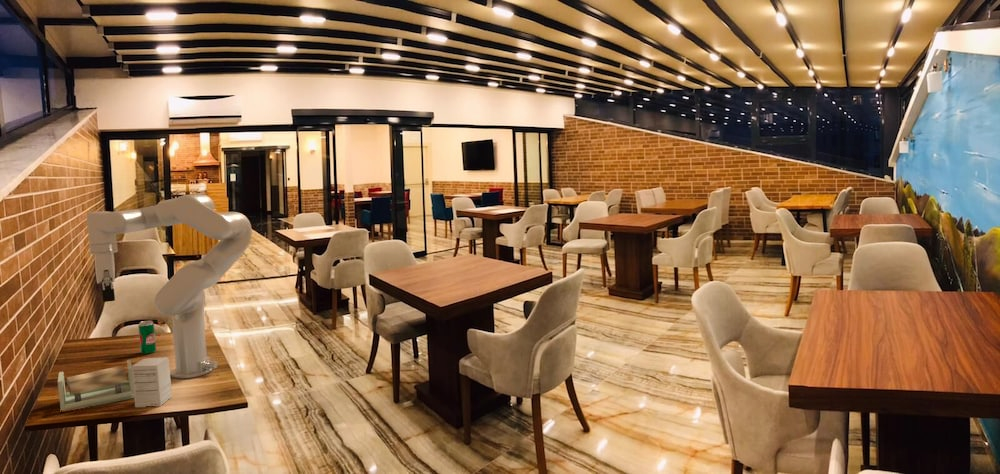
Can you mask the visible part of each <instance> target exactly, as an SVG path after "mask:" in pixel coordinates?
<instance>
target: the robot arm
mask: <svg viewBox="0 0 1000 474" xmlns="http://www.w3.org/2000/svg"><path fill="white" fill-rule="evenodd" d="M86 223H87V232H88V235H87V236H88V243H89V252H90V255H93V256H94V270H95V278H96V283H97V285H99V284H100V283H101V293H102V302H104V303H108V302H114V301H116V296H115V288H114V284H113V283H114V282H115V280H116V278H115V277H116V275H115V274H116V270H115V269H116V268H115V267H116V266H115V253H118V251H119V249H118V242H117V240H118V239H117V235H123V234H128V233H135V232H140V231H145V230H146V231H147V230H150V229H155V228H160V227H170V226H174V225H175V226H176V225H180V224H185V225H187V226H188V227H190V228H192V230H193V229H194V230H195V231H197V232H199V233H200V234H202V235H203V236H205V237H207V238H210V239H212V240H216V241H218V242H216V244H214V245H213V247H211V248H210V249H209V251H208V252H207V253H206V254H205V255H204V256H203V257H202V258H200V259H198V260H197V261H193V262H190V263H188V264H185V265H183V266H181V268H179V269H178V270H177V271H176V272H175V273H174V274H173V275H172V277H171V278H169V280H168V281H167V282H166V283H165V284H164V285H163V286H162V287H161V288H160V289H159V291H158V292H157V293H156V295H155V297H154V298H155V299H154V305H155V309H156V311H157V312H158V313H159V314H161V315H163V316H168V317H172V322H171V323H172V324H171V325H172V336H173V337H172V338H173V346H174V347H173V349H174V360H175V368H174V369H173V370H172V371H170V377H172V378H175V379H191V378H196V377H197V378H198V377H200V376H203V375H206V374H209V373H210V372H212V371H213V369H217V367H218V360H211V356H208V354H207V353H208V352H207V342H206V341H207V339H206V329H205V328H206V326H205V300H206V293H205V290H206V289H209V288H212V287H213V286H214V285H216V284H217V283H218V282H219V281H220V280H221V278H223V276H224V275H226V273H227V272H228V271H229V270H230V269H231V268H232V267H233V265H234V264H235V263H236V262H237V261H238V260H239V259H240V258H241V257H242V256H243V254H244V253H245V252H246V250H247V249H248V247H249V245H250V243H251V240H252V237H253V230H252V224H251V221H250V220H249V219H248V217H247V216H246V215H244V214H243V213H240V212H238V211H226V212H220V213H219V212H217V211H216V210H215V203H214V201H213V199H212V198H211V197H210V196H208V195H206V194H203V193H195V194H184V195H180V196H179V197H176V198H171V199H167V200H165V199H164V200H161V201H158V203H157V204H155V205H150V206H147V207H140V208H136V209H135V208H134V209H125V210H115V211H107V210H106V211H105V210H103V211H102V210H101V211H93V212H92V211H91V212H88V213H87V215H86Z"/></svg>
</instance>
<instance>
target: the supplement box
mask: <svg viewBox="0 0 1000 474" xmlns="http://www.w3.org/2000/svg"><path fill="white" fill-rule="evenodd" d="M131 371H132V381H133V391H134V398H133V399H134V408H147V407H146V406H156V407H162V406H163V405H162V404H166V402H167V401H169V400H170V399H171V398H172V397H173V391H172V382H171V381H172V380H171V368H170V360H169V357H165V356H163V357H147V358H143V359H141V360H140V361H137V362H136V363H134V364H133V365H132V366H131ZM168 399H169V400H168Z"/></svg>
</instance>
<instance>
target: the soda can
mask: <svg viewBox="0 0 1000 474" xmlns="http://www.w3.org/2000/svg"><path fill="white" fill-rule="evenodd" d="M137 326H138V337H139V347H140V348H139V349H140V353H141V354H143V355H148V354H154V353H155V352H156V351H157V344H156V331H155V323H154V321H153V320H144V321H140V322H139V324H138V325H137Z"/></svg>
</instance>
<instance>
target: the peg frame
mask: <svg viewBox="0 0 1000 474" xmlns="http://www.w3.org/2000/svg"><path fill="white" fill-rule="evenodd" d="M131 366H133V365H132V361H131V359H128V360H126V367H127V376H128V378H127V379H128V380H127V382H124V383H119V384H115V385H111V386H107V387H103V388H98V389H94V390H90V391H86V392H81V393H77V394H73V395H71V394H70V393H69V391H67V392H66V384H65V374H64V371H59V372H58V378H57V389H58V397H59V405H60V406H59V407H60V410H59V411H61V410H67V409H73V408H80V407H88V406H93V407H96V406H97V405H98V406H102V405H107V404H111V403H116V402H120V401H127V400H130V399H134V391H133V381H132V371H131ZM88 408H89V407H88Z"/></svg>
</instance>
